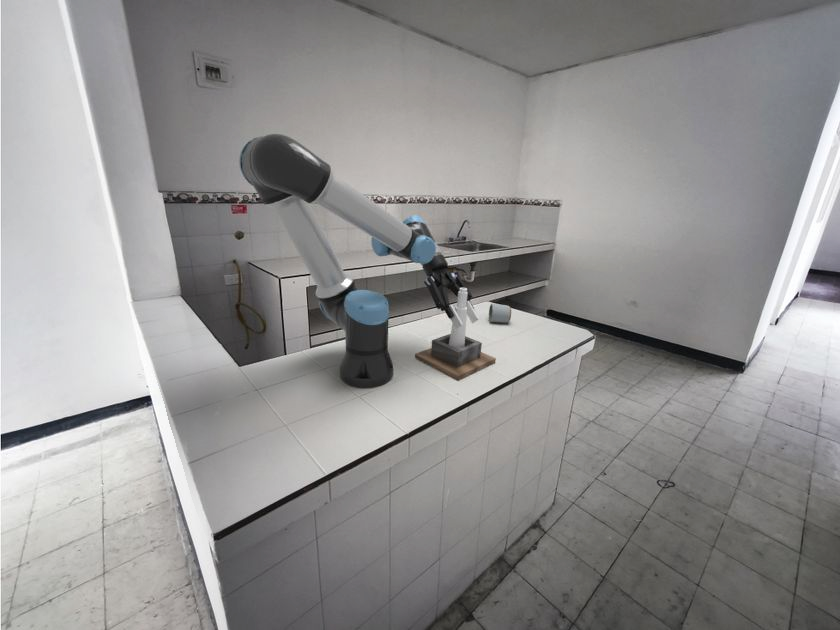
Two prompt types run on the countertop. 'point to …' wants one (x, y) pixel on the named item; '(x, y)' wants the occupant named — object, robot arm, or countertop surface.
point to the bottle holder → (455, 357)
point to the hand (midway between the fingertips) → (467, 323)
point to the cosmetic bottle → (459, 334)
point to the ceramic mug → (499, 313)
